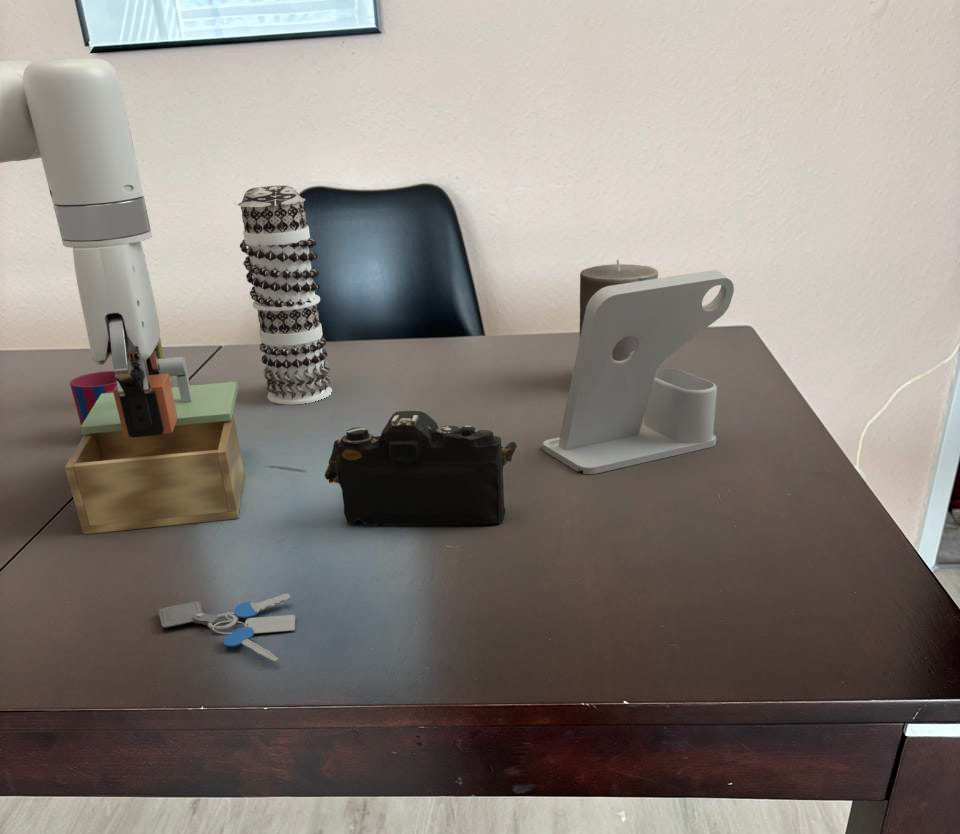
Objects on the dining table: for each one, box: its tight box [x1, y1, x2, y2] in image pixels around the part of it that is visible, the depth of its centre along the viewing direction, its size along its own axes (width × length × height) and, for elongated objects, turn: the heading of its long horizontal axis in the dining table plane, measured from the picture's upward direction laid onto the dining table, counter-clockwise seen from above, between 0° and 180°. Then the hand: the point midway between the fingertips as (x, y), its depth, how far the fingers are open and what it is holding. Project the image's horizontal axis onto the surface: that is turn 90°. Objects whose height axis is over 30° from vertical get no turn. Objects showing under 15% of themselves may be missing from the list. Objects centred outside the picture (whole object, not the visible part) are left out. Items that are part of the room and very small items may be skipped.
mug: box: [69, 370, 117, 436], centre depth 116 cm, size 7×10×7 cm
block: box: [113, 374, 178, 437], centre depth 94 cm, size 4×4×4 cm
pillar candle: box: [579, 259, 659, 361], centre depth 124 cm, size 10×10×15 cm
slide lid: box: [80, 356, 239, 436], centre depth 102 cm, size 15×12×5 cm
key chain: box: [158, 593, 296, 663], centre depth 77 cm, size 14×8×1 cm, turn 58°
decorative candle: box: [237, 185, 333, 406], centre depth 123 cm, size 9×9×25 cm
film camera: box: [324, 410, 517, 526], centre depth 93 cm, size 18×12×10 cm
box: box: [64, 413, 246, 535], centre depth 98 cm, size 15×12×7 cm
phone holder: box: [542, 269, 735, 475], centre depth 102 cm, size 17×10×18 cm, turn 115°
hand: (150, 424), depth 95 cm, fingers closed on block, 4 cm apart
